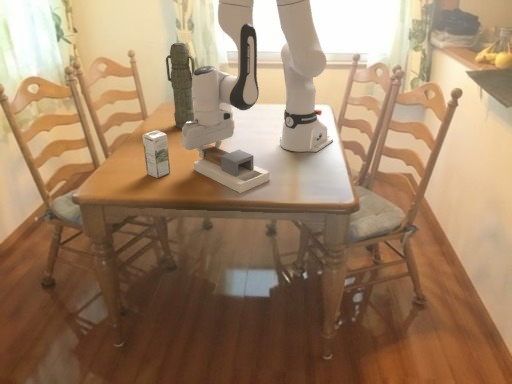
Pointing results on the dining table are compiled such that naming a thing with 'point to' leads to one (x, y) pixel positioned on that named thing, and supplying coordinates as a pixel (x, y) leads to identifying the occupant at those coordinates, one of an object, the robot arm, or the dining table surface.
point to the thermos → (181, 83)
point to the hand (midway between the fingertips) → (209, 154)
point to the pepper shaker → (227, 109)
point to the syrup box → (156, 153)
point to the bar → (213, 154)
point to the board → (234, 171)
